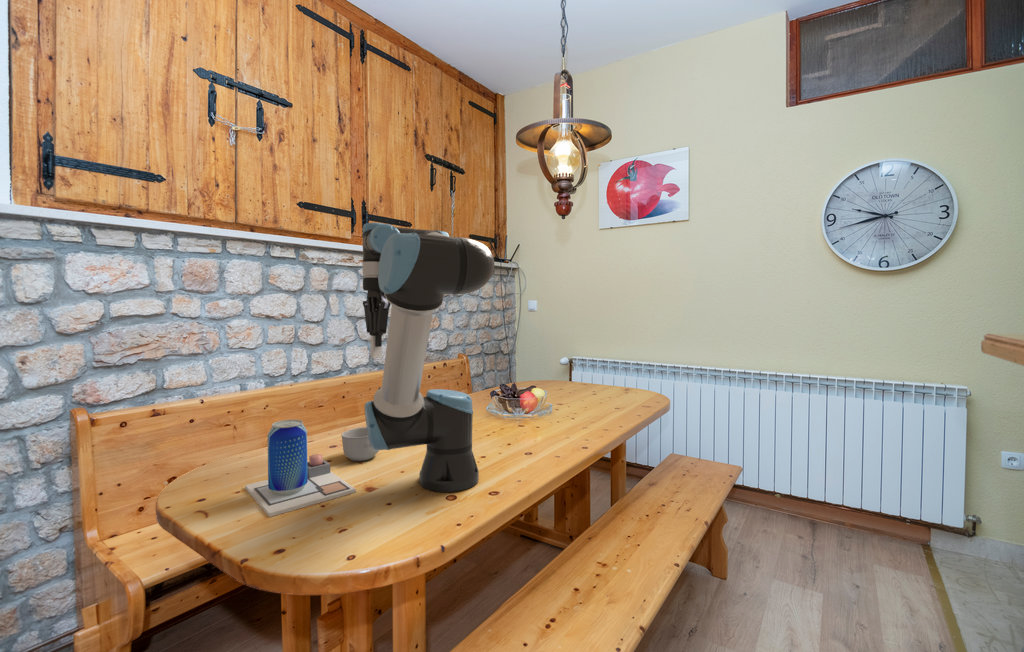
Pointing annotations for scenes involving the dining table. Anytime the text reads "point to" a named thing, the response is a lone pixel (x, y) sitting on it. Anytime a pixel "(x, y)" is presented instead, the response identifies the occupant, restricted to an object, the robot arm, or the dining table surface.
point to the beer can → (287, 457)
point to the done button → (315, 460)
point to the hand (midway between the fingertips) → (376, 357)
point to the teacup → (357, 444)
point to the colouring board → (315, 491)
